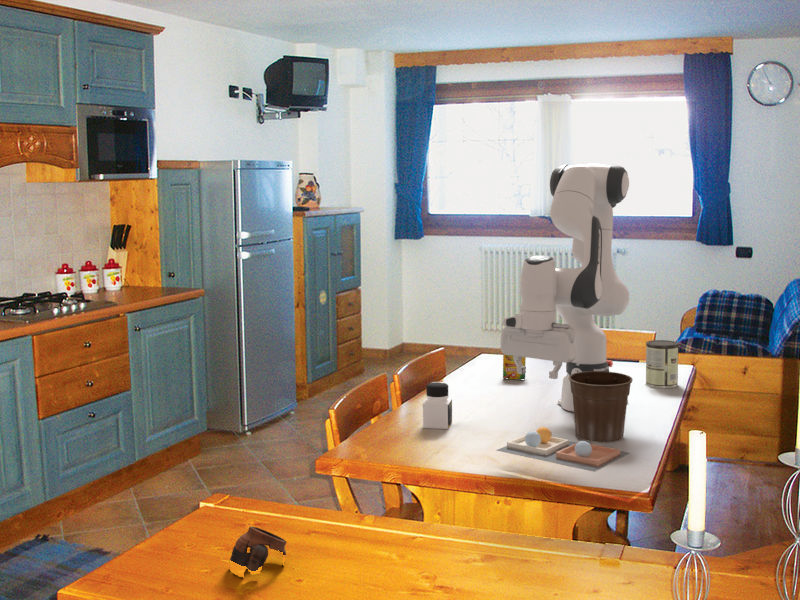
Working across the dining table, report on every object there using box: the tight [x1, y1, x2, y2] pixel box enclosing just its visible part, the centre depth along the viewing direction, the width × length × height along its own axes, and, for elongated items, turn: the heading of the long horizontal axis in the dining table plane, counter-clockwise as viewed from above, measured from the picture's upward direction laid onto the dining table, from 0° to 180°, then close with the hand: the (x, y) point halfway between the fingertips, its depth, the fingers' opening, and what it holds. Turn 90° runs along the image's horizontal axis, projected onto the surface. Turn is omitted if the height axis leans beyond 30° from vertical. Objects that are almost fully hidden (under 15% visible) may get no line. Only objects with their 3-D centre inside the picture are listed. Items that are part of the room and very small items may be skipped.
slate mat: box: [496, 440, 630, 472], centre depth 218 cm, size 18×27×1 cm, turn 50°
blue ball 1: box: [525, 430, 541, 447], centre depth 220 cm, size 4×4×4 cm
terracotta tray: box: [556, 442, 621, 467], centre depth 214 cm, size 11×11×1 cm
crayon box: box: [502, 353, 527, 380], centre depth 303 cm, size 7×3×12 cm, turn 73°
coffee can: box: [645, 339, 680, 389], centre depth 291 cm, size 10×10×14 cm
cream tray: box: [506, 434, 570, 456], centre depth 223 cm, size 11×11×1 cm
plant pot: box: [568, 371, 634, 443], centre depth 230 cm, size 16×16×16 cm
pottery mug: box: [229, 525, 287, 571], centre depth 154 cm, size 12×10×8 cm
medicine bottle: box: [422, 381, 453, 430], centre depth 245 cm, size 7×7×12 cm
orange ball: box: [535, 426, 552, 443], centre depth 224 cm, size 4×4×4 cm
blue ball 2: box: [575, 440, 592, 458], centre depth 211 cm, size 4×4×4 cm
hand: (537, 376), depth 222 cm, fingers open, 8 cm apart
